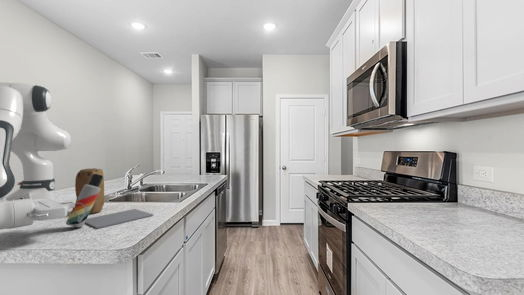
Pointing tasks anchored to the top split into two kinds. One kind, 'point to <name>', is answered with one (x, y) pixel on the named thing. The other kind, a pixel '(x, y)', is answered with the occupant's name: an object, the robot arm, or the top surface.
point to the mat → (116, 218)
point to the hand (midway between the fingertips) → (73, 204)
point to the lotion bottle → (85, 202)
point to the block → (84, 178)
